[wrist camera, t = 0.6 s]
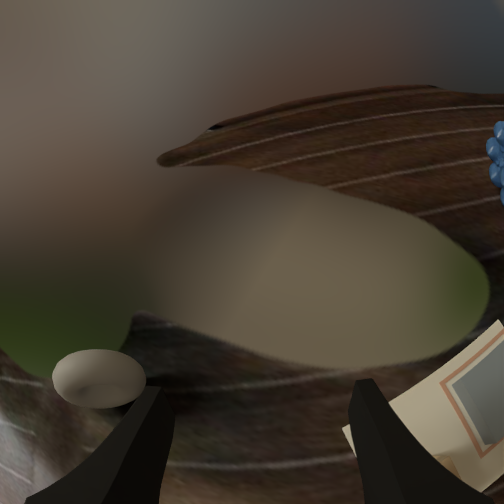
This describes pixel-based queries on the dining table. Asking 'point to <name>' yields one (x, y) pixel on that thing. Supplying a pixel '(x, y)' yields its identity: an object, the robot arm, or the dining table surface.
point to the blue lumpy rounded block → (497, 157)
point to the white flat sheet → (452, 416)
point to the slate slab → (485, 395)
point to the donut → (99, 378)
